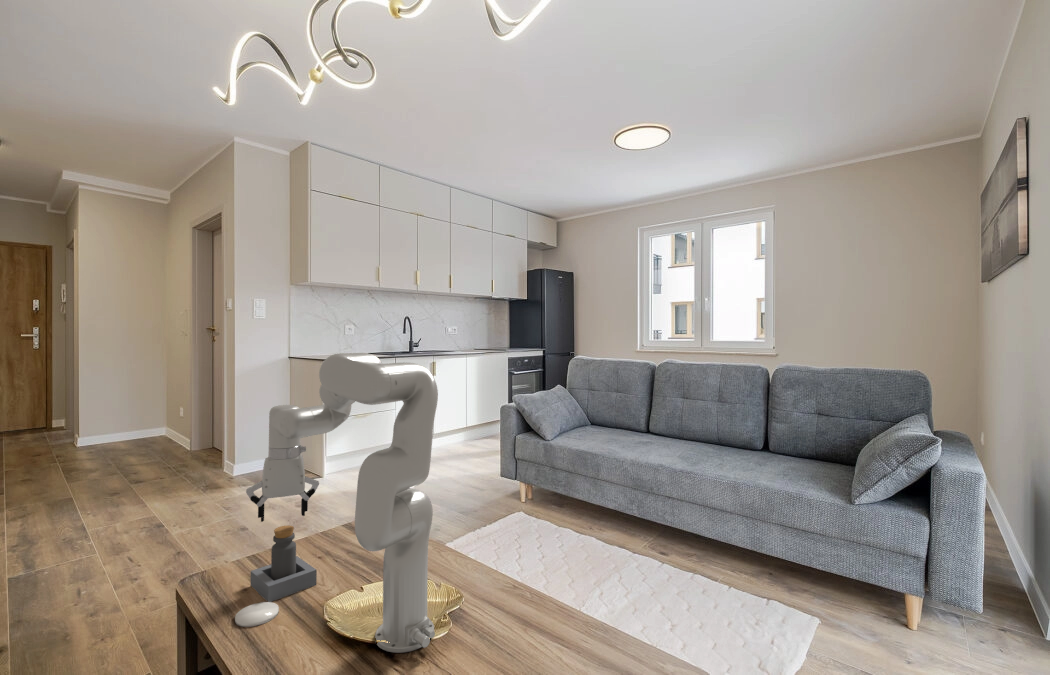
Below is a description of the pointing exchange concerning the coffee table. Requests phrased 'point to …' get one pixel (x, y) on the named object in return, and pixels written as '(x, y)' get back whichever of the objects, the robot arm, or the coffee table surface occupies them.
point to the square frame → (283, 581)
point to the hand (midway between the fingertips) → (283, 517)
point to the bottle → (283, 553)
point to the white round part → (256, 614)
